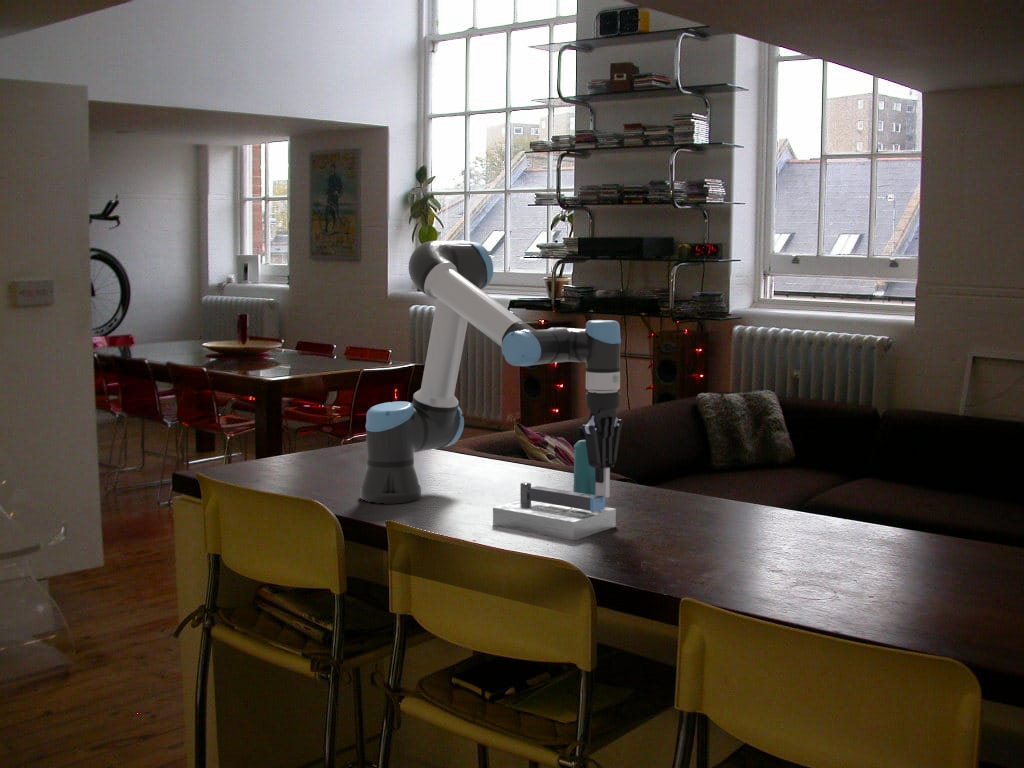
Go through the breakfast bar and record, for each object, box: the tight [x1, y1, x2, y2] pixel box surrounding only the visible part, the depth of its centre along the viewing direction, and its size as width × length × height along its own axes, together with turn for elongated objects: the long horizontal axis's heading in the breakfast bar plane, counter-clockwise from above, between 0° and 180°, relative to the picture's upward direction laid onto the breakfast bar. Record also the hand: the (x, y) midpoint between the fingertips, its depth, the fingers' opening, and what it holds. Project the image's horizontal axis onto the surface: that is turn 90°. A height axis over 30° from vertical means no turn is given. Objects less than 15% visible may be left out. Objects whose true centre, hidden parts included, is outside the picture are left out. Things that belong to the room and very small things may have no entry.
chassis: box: [492, 482, 617, 542], centre depth 243 cm, size 22×16×8 cm
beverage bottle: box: [572, 426, 596, 495], centre depth 258 cm, size 6×7×20 cm
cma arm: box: [530, 485, 606, 512], centre depth 241 cm, size 18×4×3 cm, turn 51°
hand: (602, 496), depth 243 cm, fingers closed
